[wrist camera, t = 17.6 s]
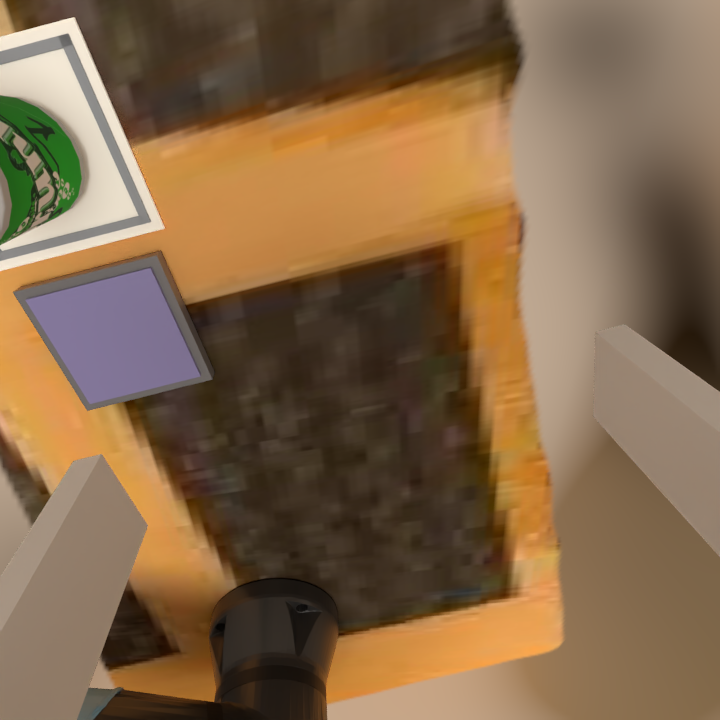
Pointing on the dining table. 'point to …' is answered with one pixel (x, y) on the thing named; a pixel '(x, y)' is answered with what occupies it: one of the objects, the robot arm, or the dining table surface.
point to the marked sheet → (93, 137)
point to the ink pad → (118, 330)
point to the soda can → (35, 167)
